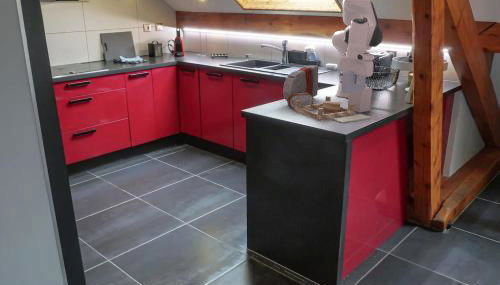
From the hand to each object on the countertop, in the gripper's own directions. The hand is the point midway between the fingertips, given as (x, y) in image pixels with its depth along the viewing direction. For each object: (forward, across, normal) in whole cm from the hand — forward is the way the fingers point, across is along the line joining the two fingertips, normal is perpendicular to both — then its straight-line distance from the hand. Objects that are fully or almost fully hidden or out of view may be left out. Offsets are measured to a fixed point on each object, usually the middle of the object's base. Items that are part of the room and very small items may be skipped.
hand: (353, 83), depth 207 cm
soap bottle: (+18, -12, +17) cm, 28 cm away
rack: (+18, -15, -4) cm, 24 cm away
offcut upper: (+16, -15, 0) cm, 22 cm away
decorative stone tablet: (+18, -42, 0) cm, 46 cm away
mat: (+18, 0, +1) cm, 18 cm away
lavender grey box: (+4, 0, 0) cm, 4 cm away
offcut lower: (+19, -15, 0) cm, 24 cm away
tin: (+19, -30, -9) cm, 36 cm away
